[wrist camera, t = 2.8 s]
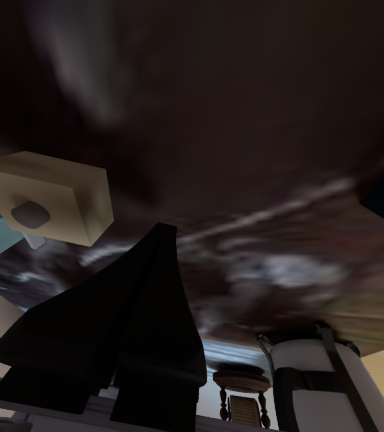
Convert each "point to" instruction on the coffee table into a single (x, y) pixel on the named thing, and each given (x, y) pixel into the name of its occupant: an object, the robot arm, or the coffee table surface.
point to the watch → (376, 200)
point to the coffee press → (323, 385)
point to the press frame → (34, 240)
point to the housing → (54, 197)
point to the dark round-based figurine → (242, 406)
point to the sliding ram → (8, 235)
